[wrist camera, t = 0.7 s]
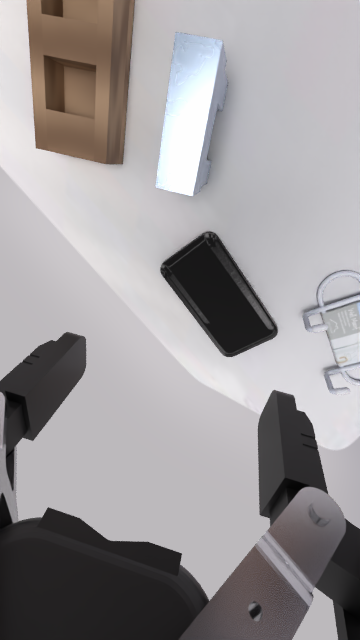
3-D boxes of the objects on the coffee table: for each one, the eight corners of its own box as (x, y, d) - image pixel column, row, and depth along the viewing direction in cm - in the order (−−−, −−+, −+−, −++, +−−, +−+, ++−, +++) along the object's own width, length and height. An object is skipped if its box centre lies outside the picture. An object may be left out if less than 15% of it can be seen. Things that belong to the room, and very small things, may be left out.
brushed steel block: (196, 69, 25) (175, 32, 18) (229, 75, 24) (222, 40, 17) (177, 182, 29) (155, 187, 22) (205, 188, 29) (192, 196, 22)
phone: (211, 228, 30) (281, 334, 34) (212, 226, 31) (280, 329, 35) (155, 268, 33) (225, 360, 37) (158, 265, 34) (226, 355, 38)
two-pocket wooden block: (54, -88, 22) (18, -135, 18) (140, -75, 21) (119, -121, 18) (60, 149, 30) (35, 148, 27) (122, 164, 29) (105, 164, 26)
